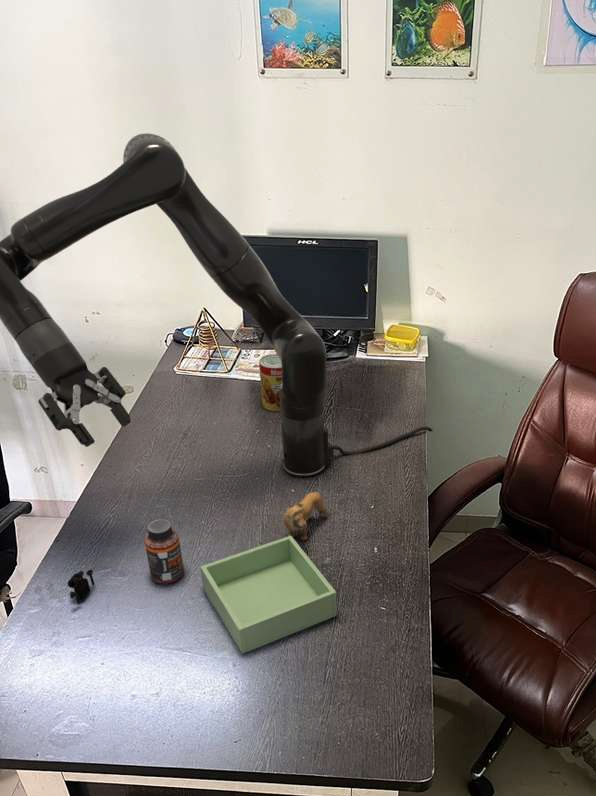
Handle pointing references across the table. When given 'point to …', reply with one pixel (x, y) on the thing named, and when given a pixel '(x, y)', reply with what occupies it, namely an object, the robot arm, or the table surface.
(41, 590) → the table surface
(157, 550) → the supplement bottle
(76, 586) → the black animal figurine
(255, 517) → the table surface
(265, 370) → the canned food
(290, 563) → the desk bin
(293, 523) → the lion figurine
